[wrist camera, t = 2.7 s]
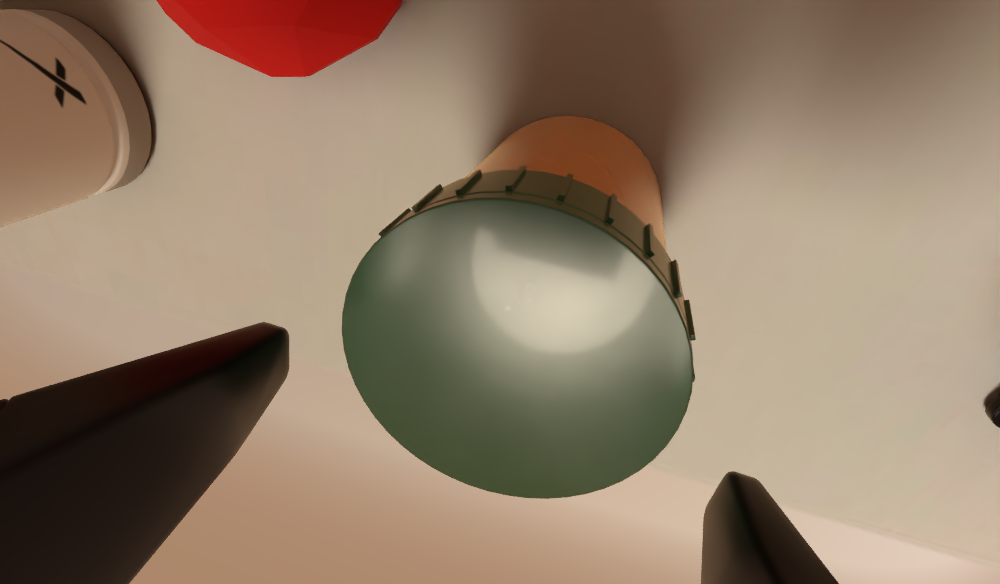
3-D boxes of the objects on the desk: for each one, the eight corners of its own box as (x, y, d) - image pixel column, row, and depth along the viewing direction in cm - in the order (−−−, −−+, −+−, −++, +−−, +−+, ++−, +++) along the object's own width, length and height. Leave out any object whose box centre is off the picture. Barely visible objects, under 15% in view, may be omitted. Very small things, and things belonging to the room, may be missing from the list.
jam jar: (699, 166, 16) (750, 302, 8) (606, 319, 19) (584, 517, 12) (516, 82, 16) (409, 143, 9) (454, 247, 19) (335, 398, 12)
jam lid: (761, 260, 10) (783, 308, 8) (595, 481, 13) (589, 546, 11) (428, 105, 10) (387, 123, 8) (350, 365, 13) (310, 413, 11)
